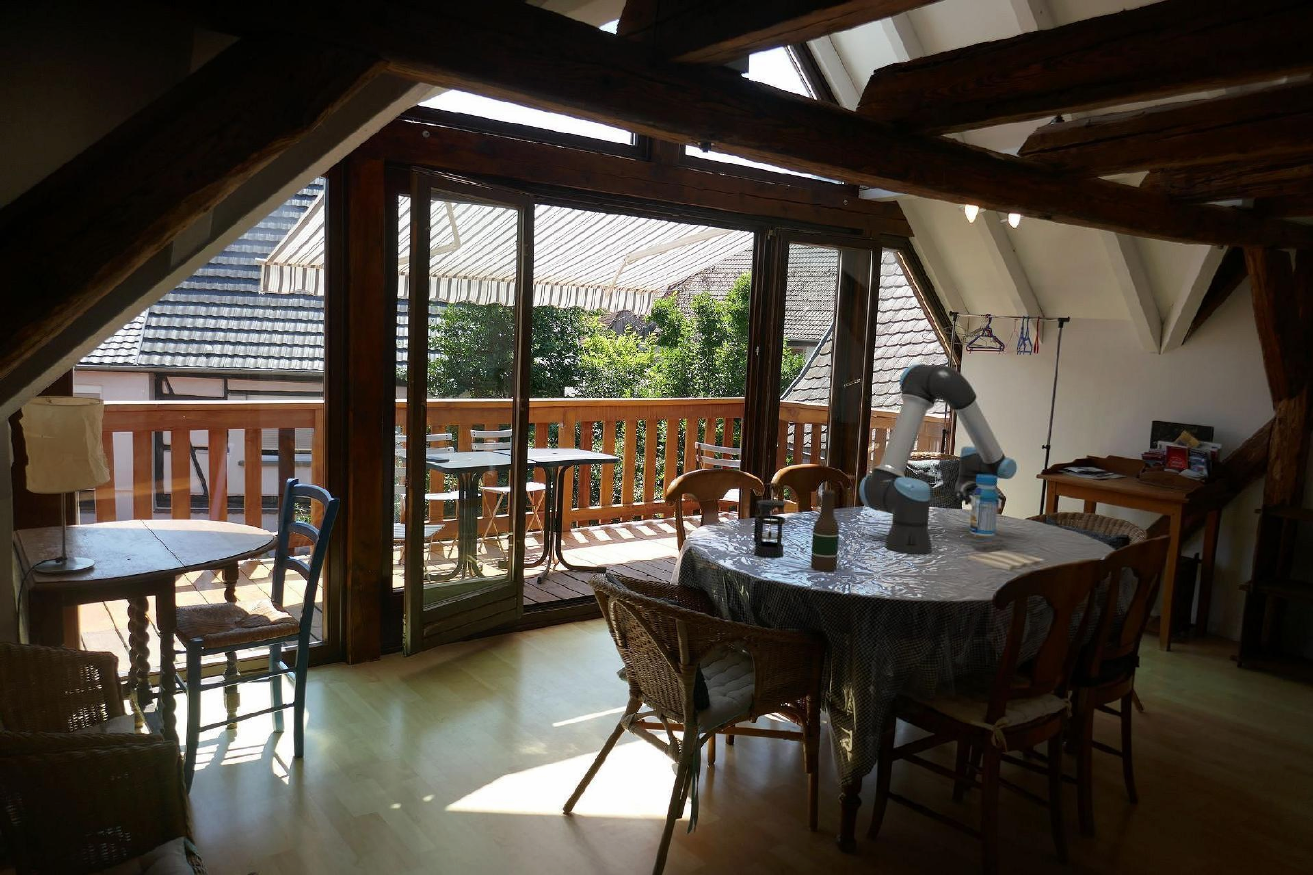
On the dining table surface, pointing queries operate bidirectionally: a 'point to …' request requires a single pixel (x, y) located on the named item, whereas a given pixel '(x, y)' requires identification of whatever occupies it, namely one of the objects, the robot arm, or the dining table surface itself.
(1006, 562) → the birch board
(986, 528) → the beverage bottle
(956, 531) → the dining table surface
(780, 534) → the black lantern
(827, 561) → the beer bottle
